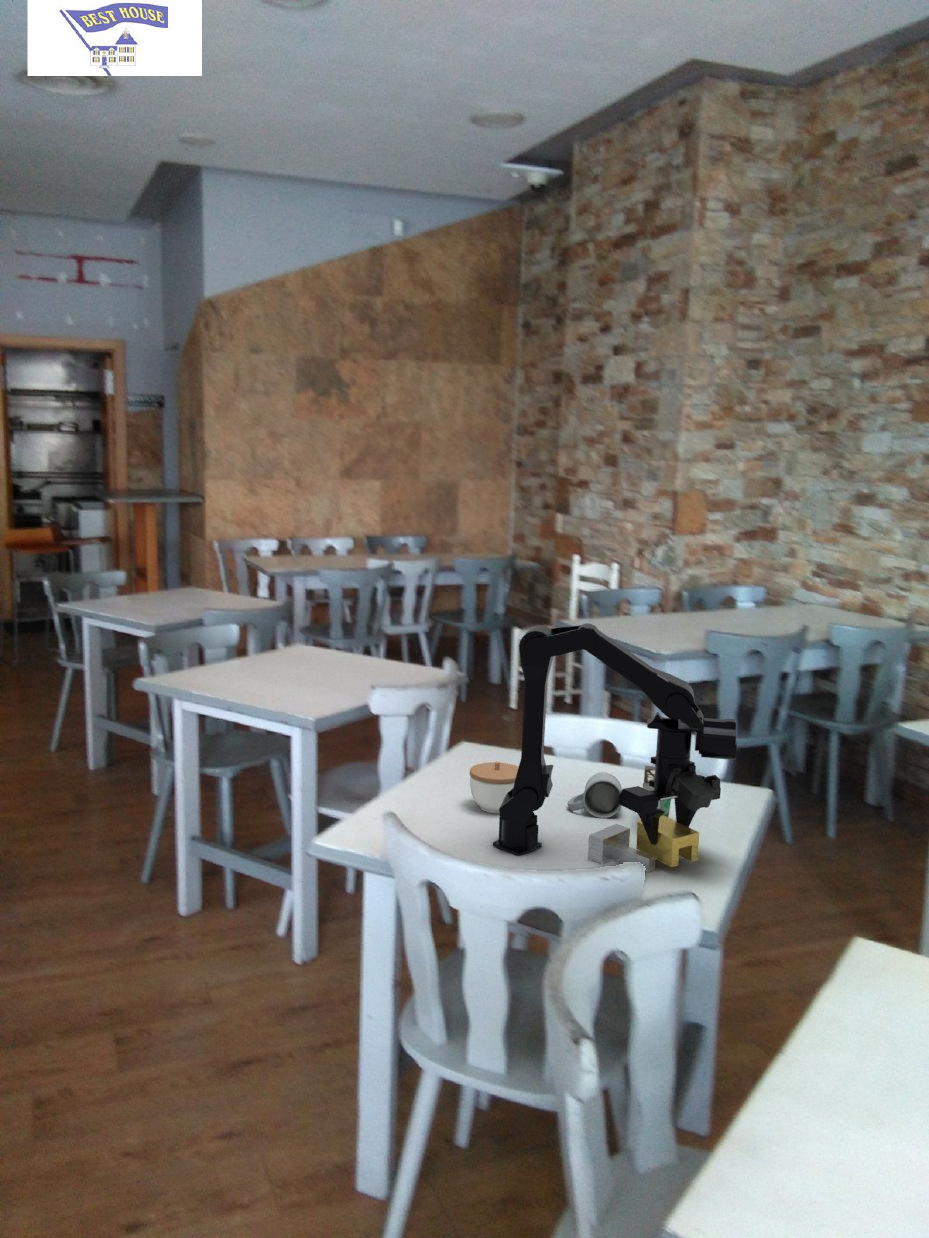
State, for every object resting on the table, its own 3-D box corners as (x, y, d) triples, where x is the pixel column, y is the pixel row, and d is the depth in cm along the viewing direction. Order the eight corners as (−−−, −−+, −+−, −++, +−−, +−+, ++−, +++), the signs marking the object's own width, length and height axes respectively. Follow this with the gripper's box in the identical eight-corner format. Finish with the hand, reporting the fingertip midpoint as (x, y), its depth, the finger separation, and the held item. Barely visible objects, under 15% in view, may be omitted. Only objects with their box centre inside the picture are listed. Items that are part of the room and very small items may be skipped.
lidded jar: (493, 795, 214) (495, 750, 213) (534, 808, 207) (536, 763, 205) (457, 807, 206) (458, 761, 205) (497, 821, 199) (499, 774, 198)
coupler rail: (587, 858, 183) (589, 834, 182) (614, 847, 188) (616, 823, 188) (638, 877, 175) (639, 852, 175) (664, 864, 181) (666, 840, 180)
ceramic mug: (621, 805, 210) (622, 768, 209) (622, 819, 202) (623, 781, 201) (567, 802, 212) (568, 766, 210) (566, 816, 204) (568, 778, 202)
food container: (673, 839, 193) (676, 787, 192) (639, 835, 194) (642, 783, 193) (673, 816, 205) (677, 767, 203) (641, 813, 206) (644, 764, 205)
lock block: (636, 848, 184) (637, 821, 183) (662, 841, 187) (663, 815, 186) (671, 867, 177) (672, 839, 176) (697, 859, 180) (699, 832, 179)
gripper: (663, 774, 167) (657, 867, 170) (747, 760, 177) (740, 847, 180) (619, 756, 177) (613, 844, 179) (700, 743, 186) (694, 826, 189)
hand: (667, 841), depth 182 cm, fingers closed on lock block, 6 cm apart
